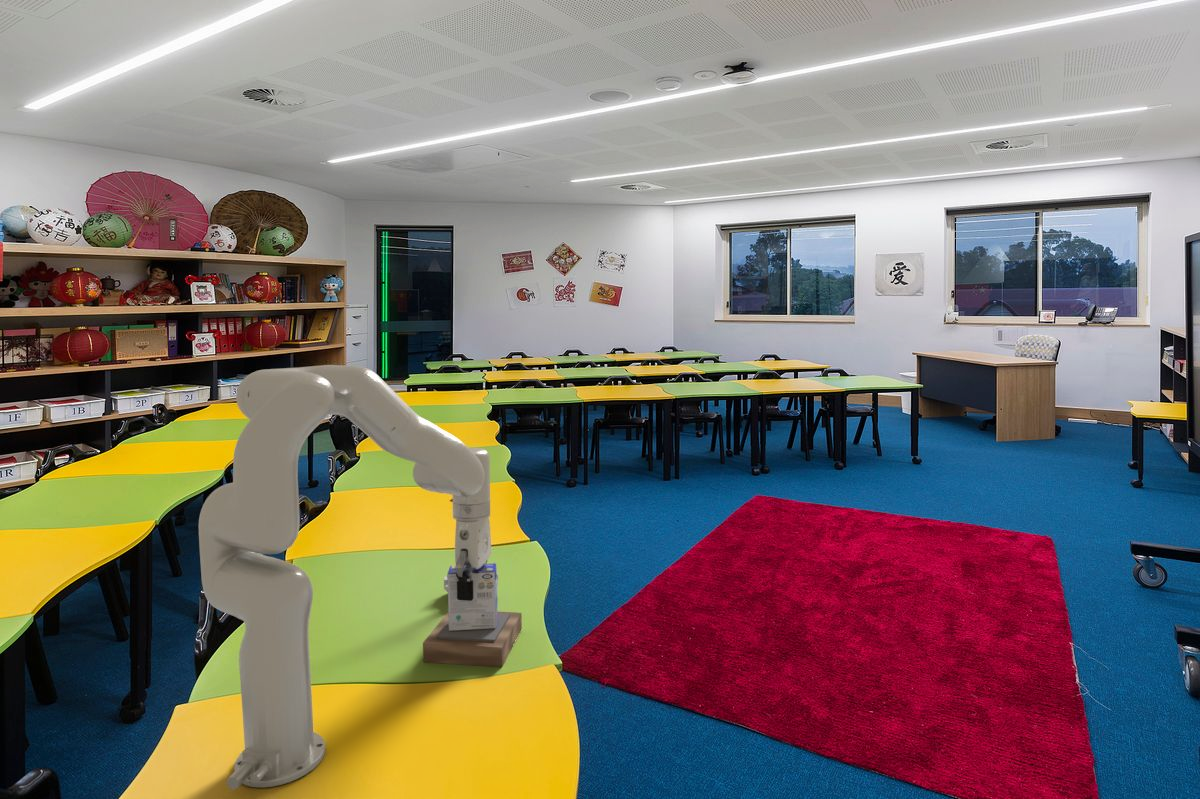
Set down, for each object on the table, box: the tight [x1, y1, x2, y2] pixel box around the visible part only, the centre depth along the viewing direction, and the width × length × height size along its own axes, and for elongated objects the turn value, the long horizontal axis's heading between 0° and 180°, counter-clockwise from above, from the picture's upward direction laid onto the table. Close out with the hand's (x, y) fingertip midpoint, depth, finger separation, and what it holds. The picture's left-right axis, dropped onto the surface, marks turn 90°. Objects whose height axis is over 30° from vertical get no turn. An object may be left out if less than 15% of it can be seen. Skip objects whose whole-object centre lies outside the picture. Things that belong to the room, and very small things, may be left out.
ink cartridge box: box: [446, 562, 498, 631], centre depth 140 cm, size 10×6×14 cm, turn 97°
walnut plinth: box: [422, 610, 523, 668], centre depth 141 cm, size 16×16×4 cm
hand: (472, 590), depth 140 cm, fingers open, 9 cm apart
